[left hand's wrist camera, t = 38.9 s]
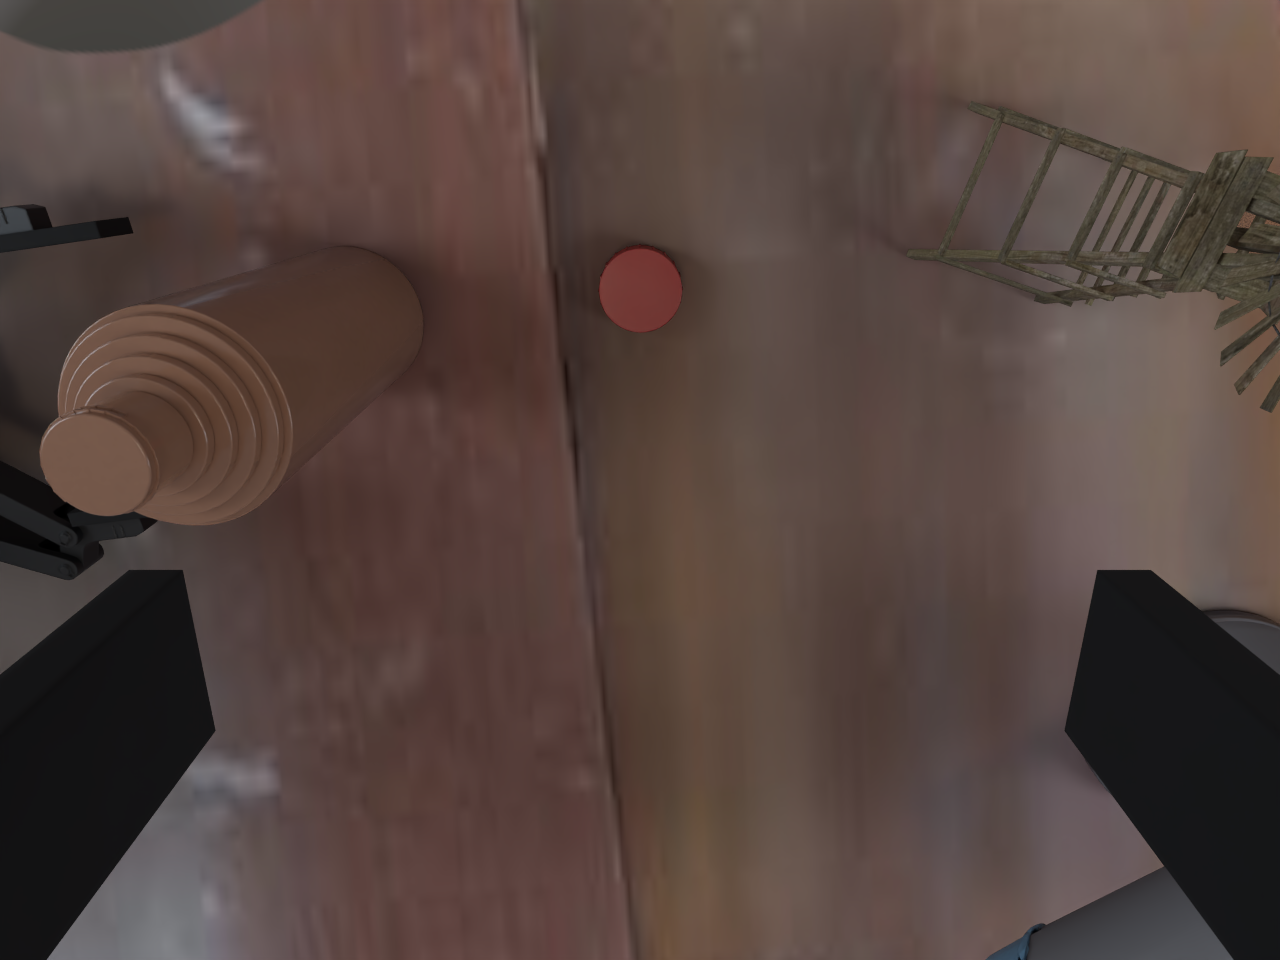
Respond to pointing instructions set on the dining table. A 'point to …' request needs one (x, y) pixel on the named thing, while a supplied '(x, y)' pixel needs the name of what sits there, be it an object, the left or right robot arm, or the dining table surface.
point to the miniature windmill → (1191, 254)
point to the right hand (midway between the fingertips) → (163, 368)
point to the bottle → (226, 386)
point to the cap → (640, 288)
